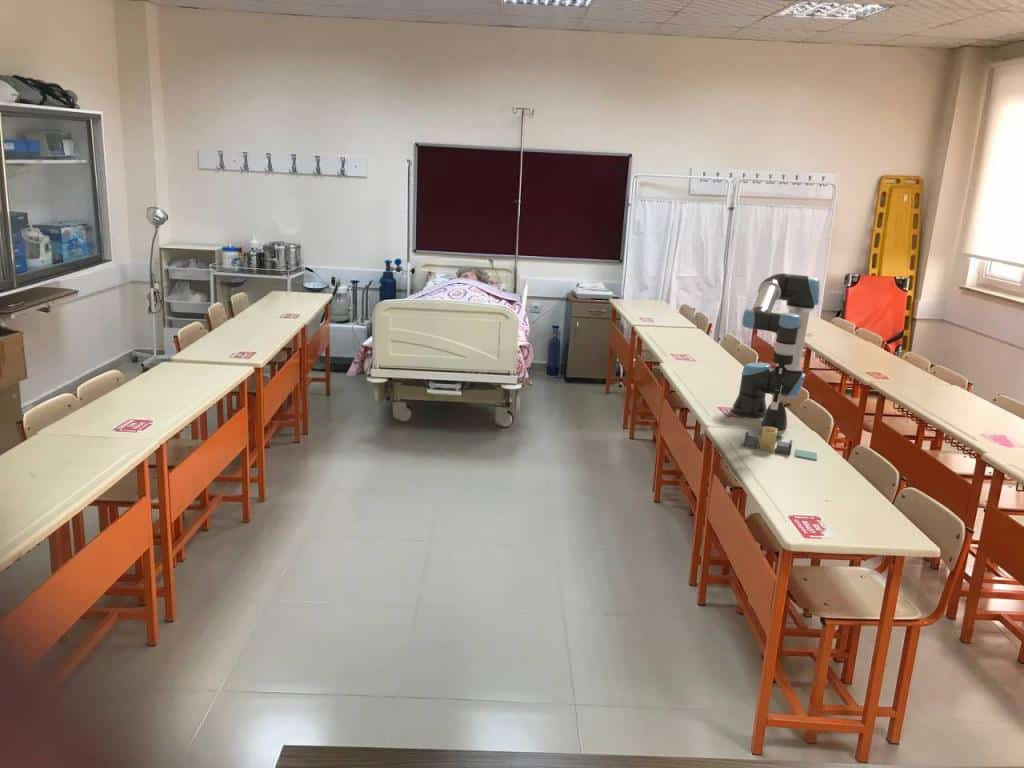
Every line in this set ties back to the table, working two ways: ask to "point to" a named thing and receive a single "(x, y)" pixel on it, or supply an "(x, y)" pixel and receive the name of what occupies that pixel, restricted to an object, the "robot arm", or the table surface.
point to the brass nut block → (768, 439)
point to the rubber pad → (806, 454)
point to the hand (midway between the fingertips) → (774, 405)
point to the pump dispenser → (776, 418)
